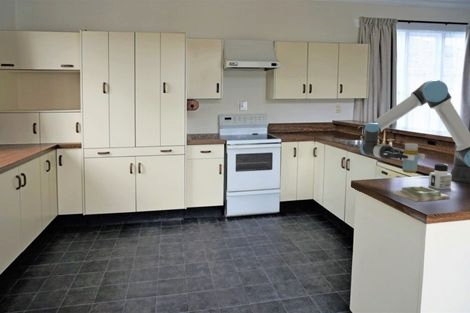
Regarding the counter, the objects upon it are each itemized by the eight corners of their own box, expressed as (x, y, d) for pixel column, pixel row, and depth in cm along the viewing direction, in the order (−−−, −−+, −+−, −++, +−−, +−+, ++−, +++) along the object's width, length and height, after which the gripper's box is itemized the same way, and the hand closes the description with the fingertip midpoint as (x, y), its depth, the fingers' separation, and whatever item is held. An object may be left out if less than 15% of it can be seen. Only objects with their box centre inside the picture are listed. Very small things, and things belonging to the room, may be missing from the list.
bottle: (412, 170, 203) (414, 143, 200) (419, 173, 196) (421, 144, 194) (399, 170, 203) (401, 143, 200) (405, 173, 196) (408, 144, 193)
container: (439, 189, 201) (441, 165, 199) (428, 186, 209) (430, 163, 206) (450, 188, 203) (453, 164, 201) (439, 185, 211) (441, 162, 209)
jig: (424, 190, 198) (424, 184, 198) (449, 198, 183) (450, 192, 182) (392, 193, 192) (393, 187, 192) (416, 201, 177) (416, 195, 177)
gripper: (395, 157, 219) (431, 163, 198) (370, 159, 210) (404, 166, 190) (396, 144, 218) (432, 149, 197) (371, 146, 209) (405, 151, 189)
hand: (418, 157), depth 194 cm, fingers closed on bottle, 7 cm apart
